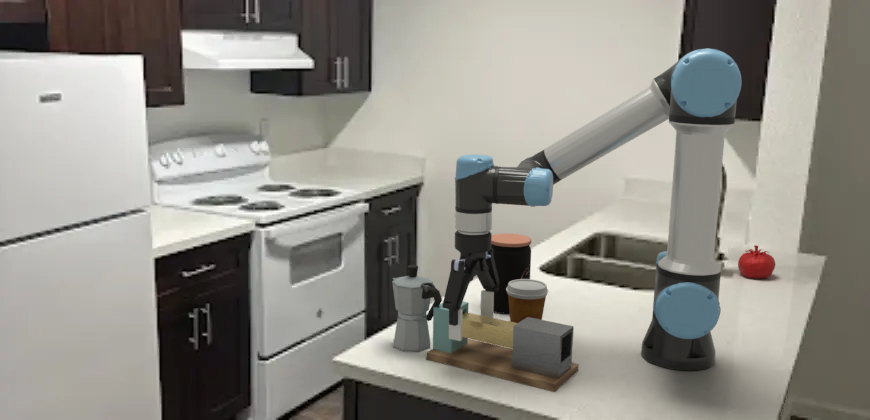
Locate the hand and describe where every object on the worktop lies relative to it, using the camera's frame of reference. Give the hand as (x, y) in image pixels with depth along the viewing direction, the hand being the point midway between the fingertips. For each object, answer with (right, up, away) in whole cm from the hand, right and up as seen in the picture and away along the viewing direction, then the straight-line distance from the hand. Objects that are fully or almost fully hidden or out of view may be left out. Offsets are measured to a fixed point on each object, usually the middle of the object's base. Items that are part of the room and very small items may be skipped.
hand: (471, 329), depth 170 cm
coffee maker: (-12, -5, +7) cm, 15 cm away
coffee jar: (+11, 0, +34) cm, 36 cm away
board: (+6, -7, -2) cm, 9 cm away
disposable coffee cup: (+13, -4, +15) cm, 20 cm away
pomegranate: (+86, +6, +66) cm, 108 cm away
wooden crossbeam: (+4, -2, -2) cm, 5 cm away
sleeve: (+14, -7, -7) cm, 17 cm away
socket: (-4, -4, +3) cm, 7 cm away
